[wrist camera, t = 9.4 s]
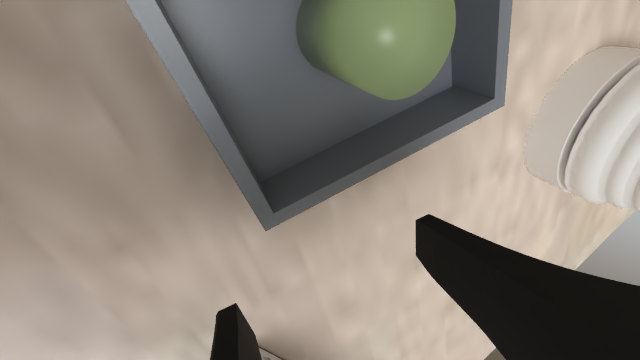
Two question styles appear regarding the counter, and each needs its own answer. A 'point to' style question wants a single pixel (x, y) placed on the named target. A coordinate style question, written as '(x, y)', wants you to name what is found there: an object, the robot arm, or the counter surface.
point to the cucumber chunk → (378, 42)
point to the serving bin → (313, 96)
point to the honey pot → (591, 129)
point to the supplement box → (267, 355)
